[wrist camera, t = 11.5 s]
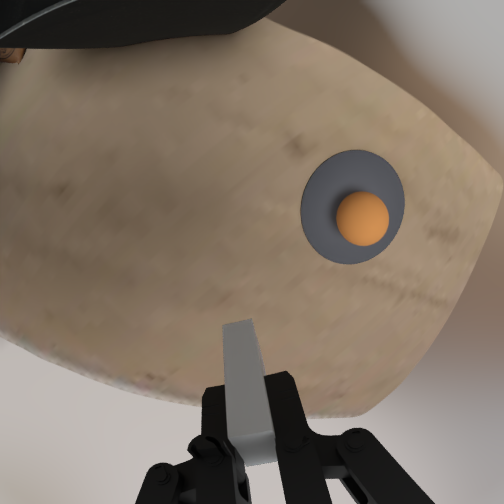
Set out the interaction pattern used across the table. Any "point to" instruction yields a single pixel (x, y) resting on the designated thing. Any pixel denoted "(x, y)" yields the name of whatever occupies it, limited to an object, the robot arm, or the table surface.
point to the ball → (362, 218)
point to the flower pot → (121, 21)
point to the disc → (336, 190)
